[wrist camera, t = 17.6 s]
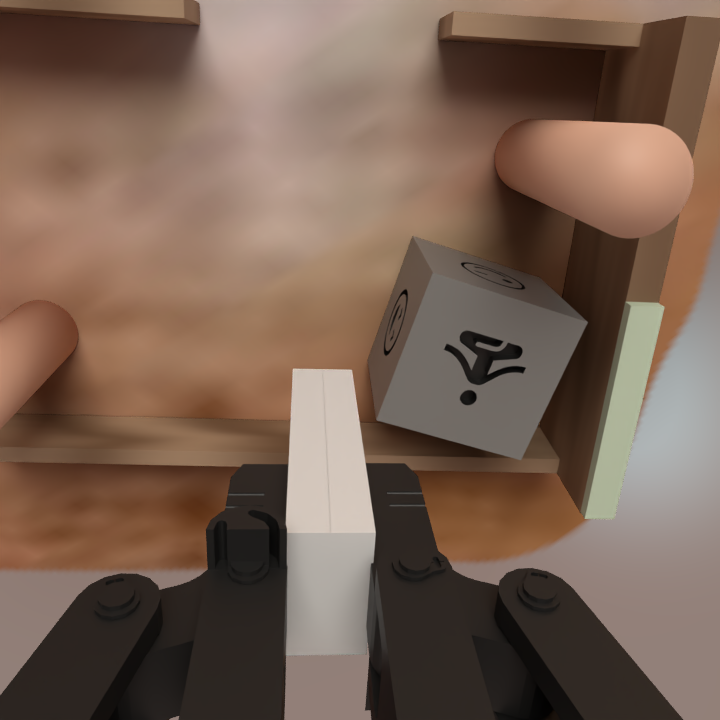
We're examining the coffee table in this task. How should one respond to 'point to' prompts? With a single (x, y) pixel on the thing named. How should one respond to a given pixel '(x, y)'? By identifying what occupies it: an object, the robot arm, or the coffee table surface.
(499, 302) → the dice cube
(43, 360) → the pin far
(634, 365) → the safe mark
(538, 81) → the coffee table surface
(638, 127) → the pin near
